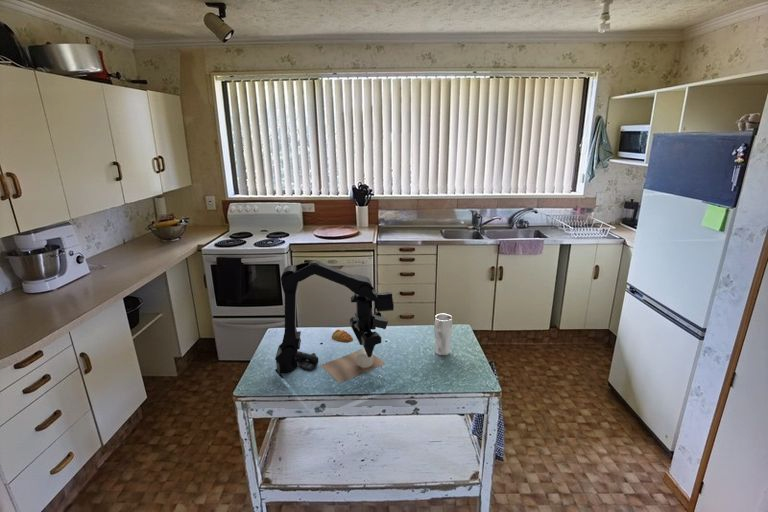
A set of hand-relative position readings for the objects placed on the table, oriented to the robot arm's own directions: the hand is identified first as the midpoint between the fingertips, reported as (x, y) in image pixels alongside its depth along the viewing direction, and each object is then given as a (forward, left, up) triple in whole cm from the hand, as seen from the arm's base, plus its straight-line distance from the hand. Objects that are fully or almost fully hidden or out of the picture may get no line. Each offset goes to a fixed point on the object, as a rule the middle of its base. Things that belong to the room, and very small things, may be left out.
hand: (365, 350), depth 144 cm
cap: (0, 0, -5) cm, 5 cm away
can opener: (-19, +16, -7) cm, 26 cm away
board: (-4, +2, -6) cm, 8 cm away
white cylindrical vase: (+30, -10, -6) cm, 32 cm away
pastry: (+3, +23, -7) cm, 24 cm away
